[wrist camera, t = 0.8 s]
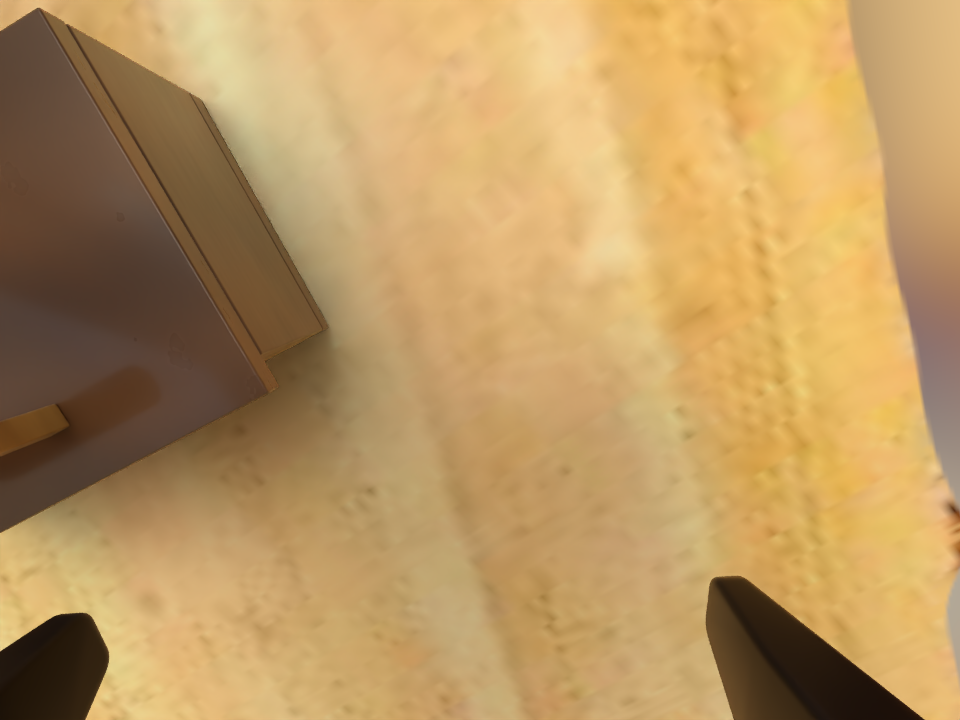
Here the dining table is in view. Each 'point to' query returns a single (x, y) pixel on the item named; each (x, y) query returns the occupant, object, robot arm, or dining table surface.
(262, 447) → the dining table surface
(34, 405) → the brown box lid
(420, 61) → the dining table surface
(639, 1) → the dining table surface
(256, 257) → the brown wooden box
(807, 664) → the robot arm
